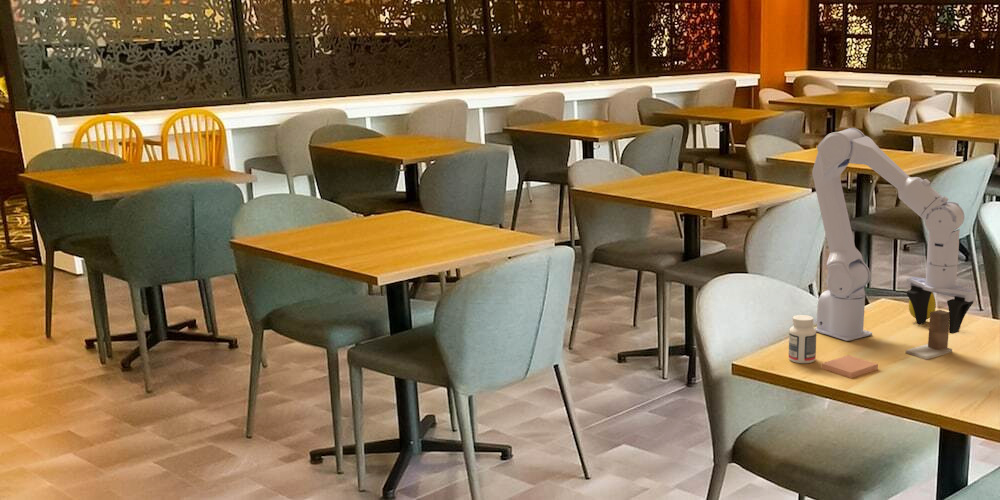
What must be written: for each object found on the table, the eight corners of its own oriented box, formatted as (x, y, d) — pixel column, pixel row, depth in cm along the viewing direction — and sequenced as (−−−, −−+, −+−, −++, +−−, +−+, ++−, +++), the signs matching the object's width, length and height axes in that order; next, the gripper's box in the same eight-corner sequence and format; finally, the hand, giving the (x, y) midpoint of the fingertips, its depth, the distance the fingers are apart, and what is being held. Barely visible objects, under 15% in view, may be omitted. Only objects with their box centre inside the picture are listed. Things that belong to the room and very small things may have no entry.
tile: (848, 362, 207) (821, 371, 203) (848, 355, 207) (821, 363, 203) (877, 371, 202) (850, 380, 197) (878, 364, 201) (851, 372, 197)
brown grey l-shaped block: (905, 353, 210) (907, 315, 209) (931, 345, 215) (933, 308, 213) (926, 359, 206) (929, 321, 204) (952, 351, 210) (955, 313, 209)
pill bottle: (816, 356, 210) (817, 314, 208) (814, 364, 205) (816, 322, 203) (789, 354, 212) (790, 312, 210) (787, 362, 207) (788, 320, 205)
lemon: (936, 326, 227) (939, 291, 225) (910, 325, 228) (912, 290, 226) (931, 318, 232) (934, 284, 230) (905, 318, 233) (907, 284, 232)
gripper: (898, 259, 211) (894, 322, 214) (961, 273, 199) (956, 340, 202) (920, 254, 215) (916, 317, 218) (984, 267, 203) (979, 333, 206)
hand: (937, 327), depth 210 cm, fingers open, 7 cm apart
